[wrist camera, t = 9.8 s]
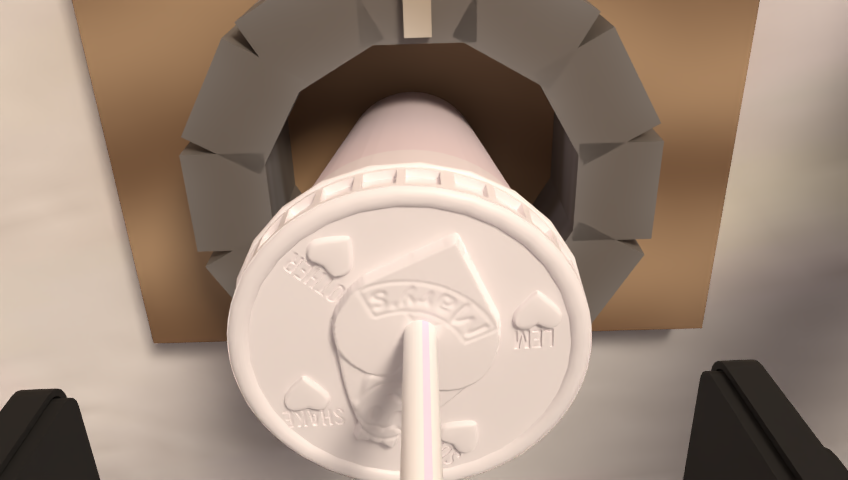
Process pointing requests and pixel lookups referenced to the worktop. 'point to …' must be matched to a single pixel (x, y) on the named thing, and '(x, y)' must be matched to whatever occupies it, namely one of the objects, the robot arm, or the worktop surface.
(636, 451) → the worktop surface
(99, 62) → the block
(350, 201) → the smoothie
